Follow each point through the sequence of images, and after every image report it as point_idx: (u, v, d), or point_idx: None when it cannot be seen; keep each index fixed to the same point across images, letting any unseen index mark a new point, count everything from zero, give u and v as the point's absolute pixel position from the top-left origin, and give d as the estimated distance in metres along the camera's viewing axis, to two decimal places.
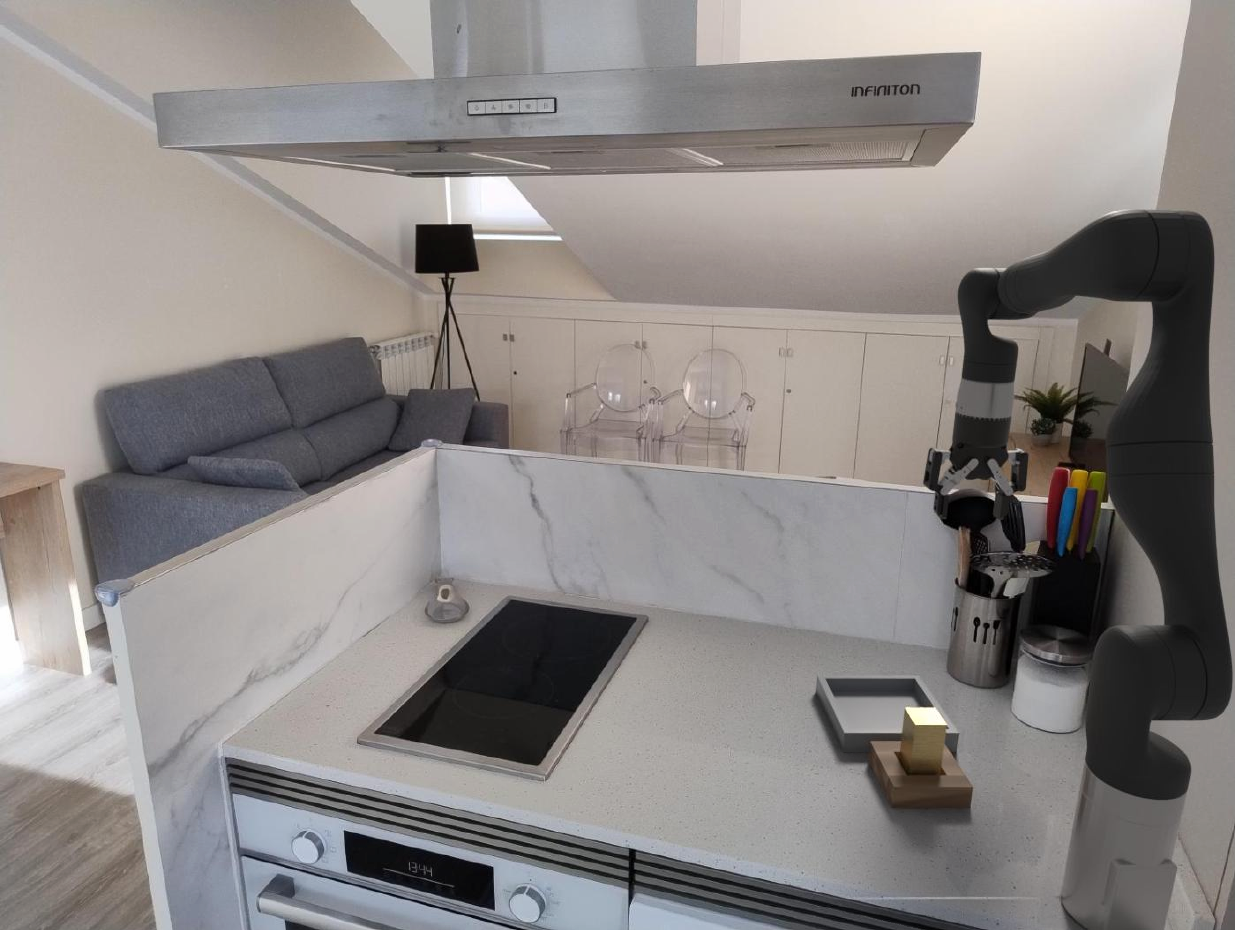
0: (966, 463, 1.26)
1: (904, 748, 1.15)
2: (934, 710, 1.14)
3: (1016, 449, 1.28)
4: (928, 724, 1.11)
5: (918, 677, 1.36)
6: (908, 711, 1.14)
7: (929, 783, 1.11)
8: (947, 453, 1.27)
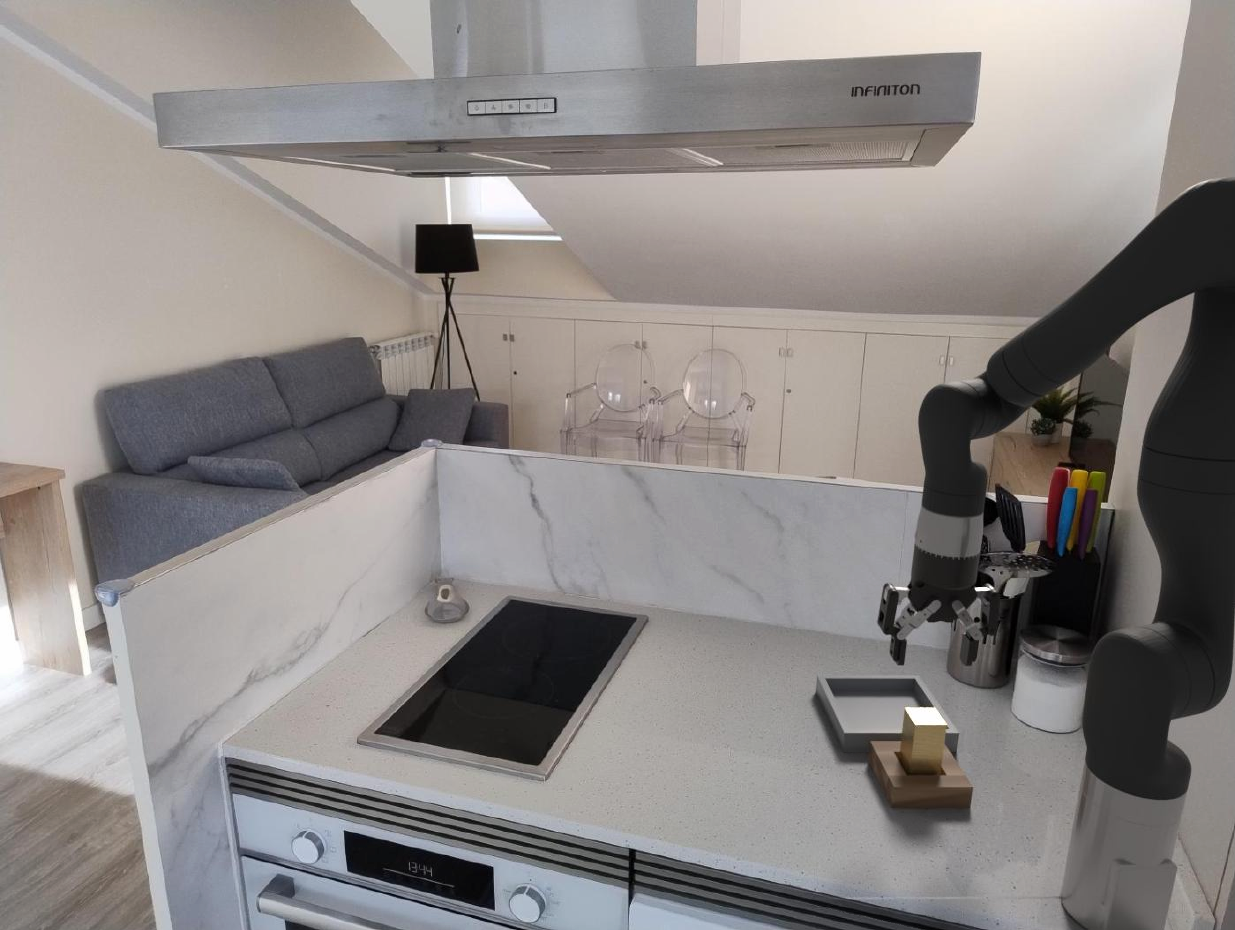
0: (927, 604, 1.07)
1: (904, 748, 1.15)
2: (934, 710, 1.14)
3: (986, 586, 1.09)
4: (928, 724, 1.11)
5: (918, 677, 1.36)
6: (908, 711, 1.14)
7: (929, 783, 1.11)
8: (904, 592, 1.07)
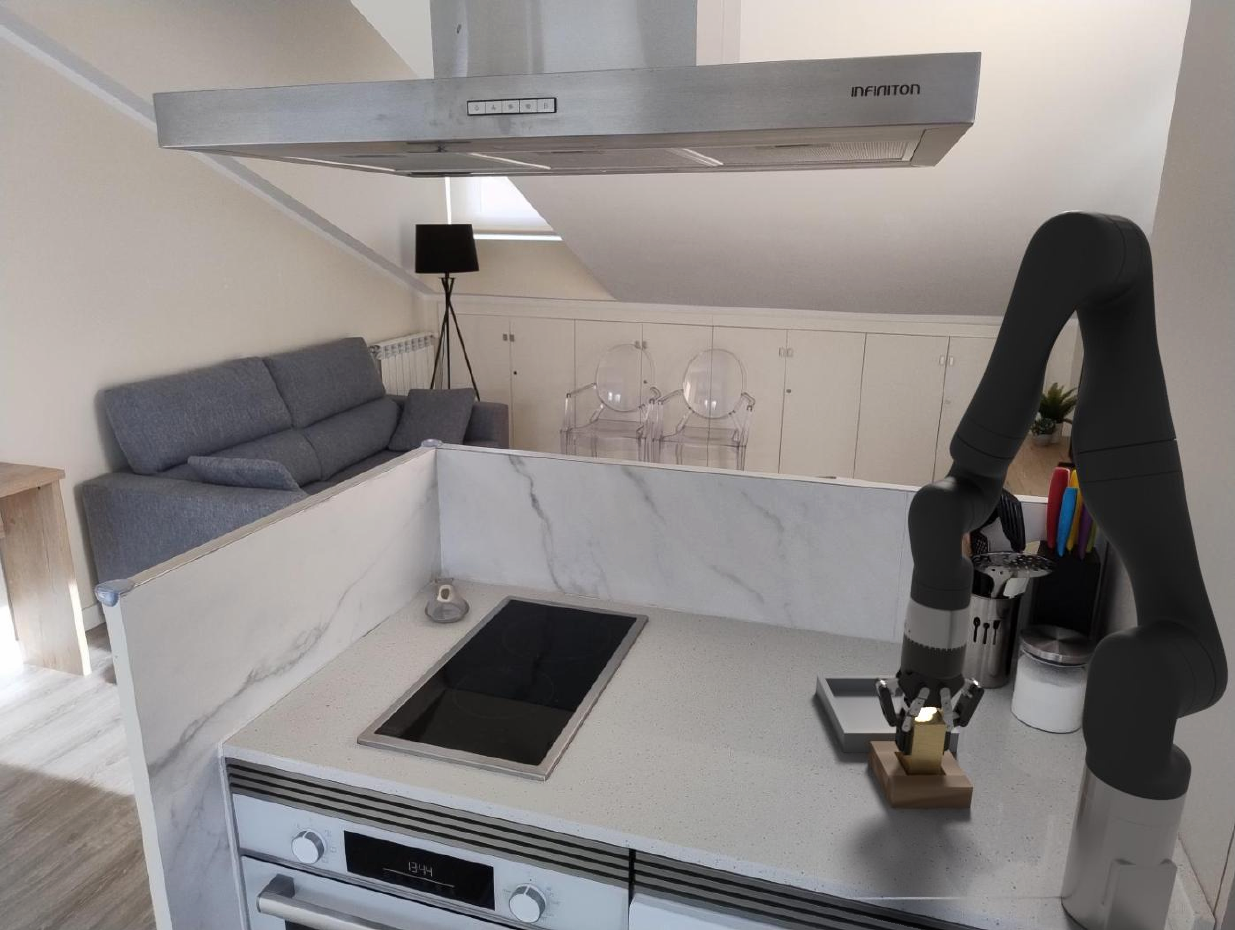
0: (917, 694, 1.10)
1: None
2: (933, 709, 1.14)
3: (973, 679, 1.12)
4: (928, 724, 1.11)
5: None
6: None
7: (929, 783, 1.11)
8: (893, 683, 1.11)
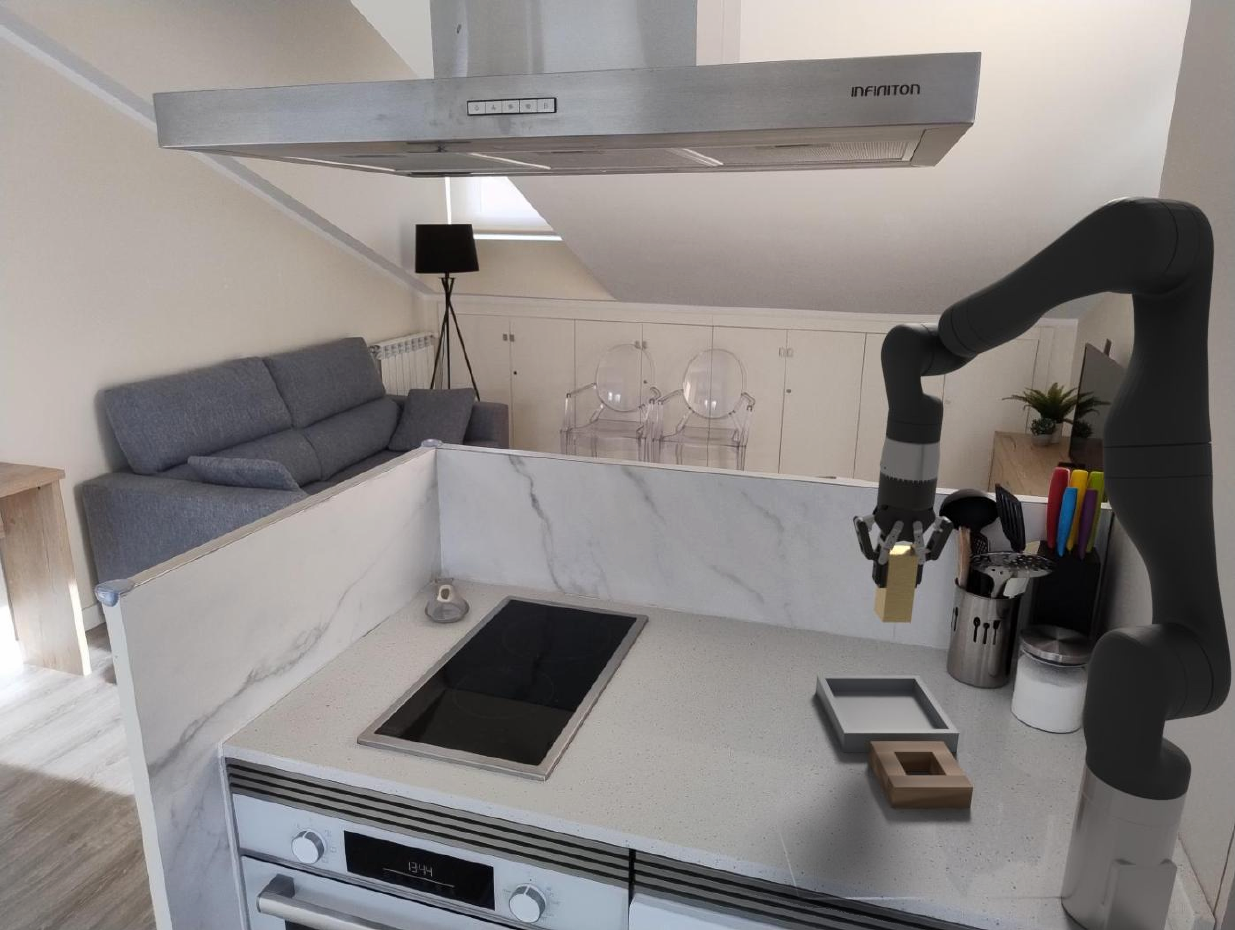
0: (892, 527, 1.20)
1: None
2: (908, 547, 1.24)
3: (944, 517, 1.22)
4: (902, 556, 1.21)
5: (918, 677, 1.36)
6: None
7: (929, 783, 1.11)
8: (870, 519, 1.21)
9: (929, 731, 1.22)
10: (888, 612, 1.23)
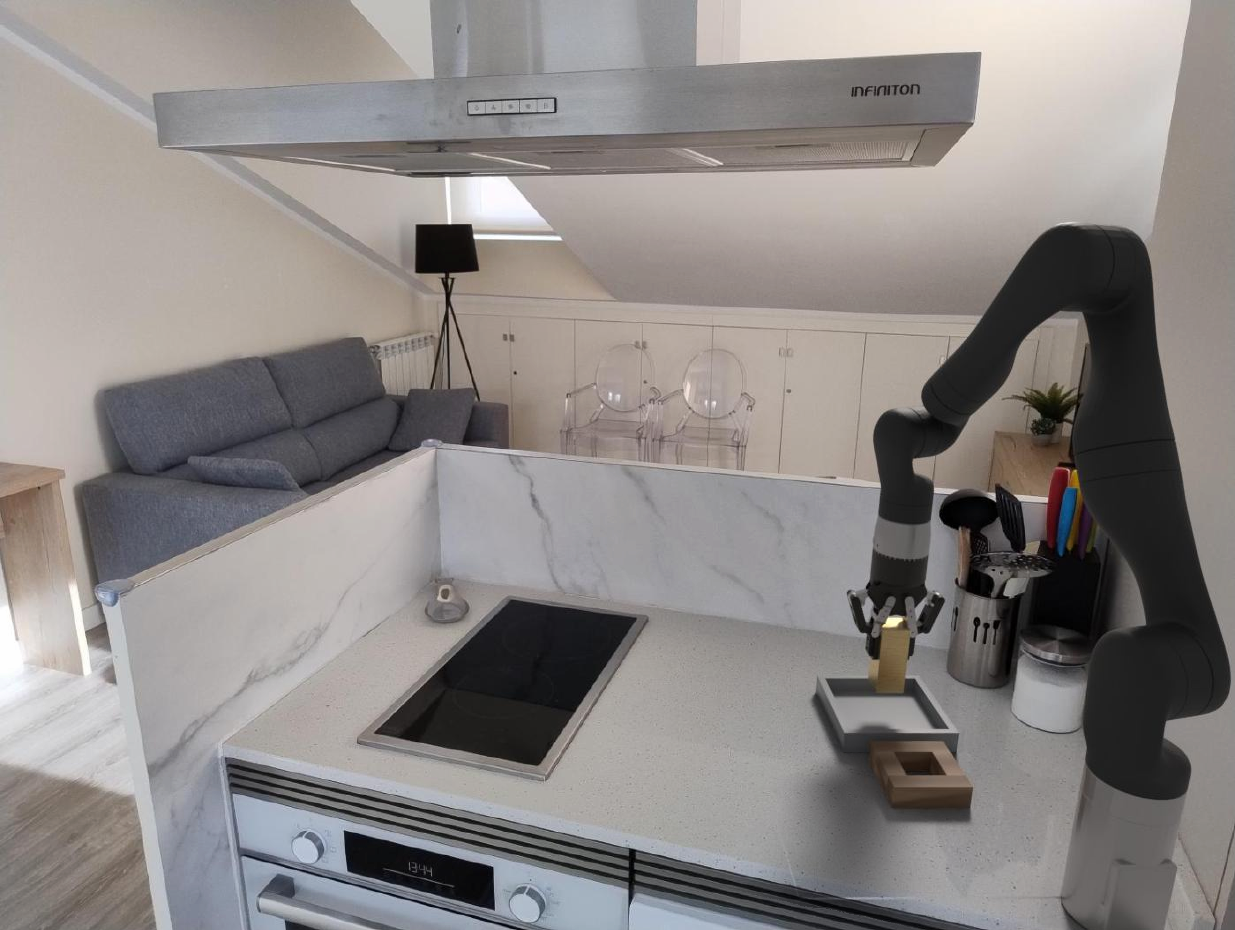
0: (884, 602, 1.23)
1: None
2: (900, 619, 1.27)
3: (935, 591, 1.25)
4: (894, 630, 1.24)
5: (918, 677, 1.36)
6: None
7: (929, 783, 1.11)
8: (863, 594, 1.24)
9: (929, 731, 1.22)
10: (881, 683, 1.26)
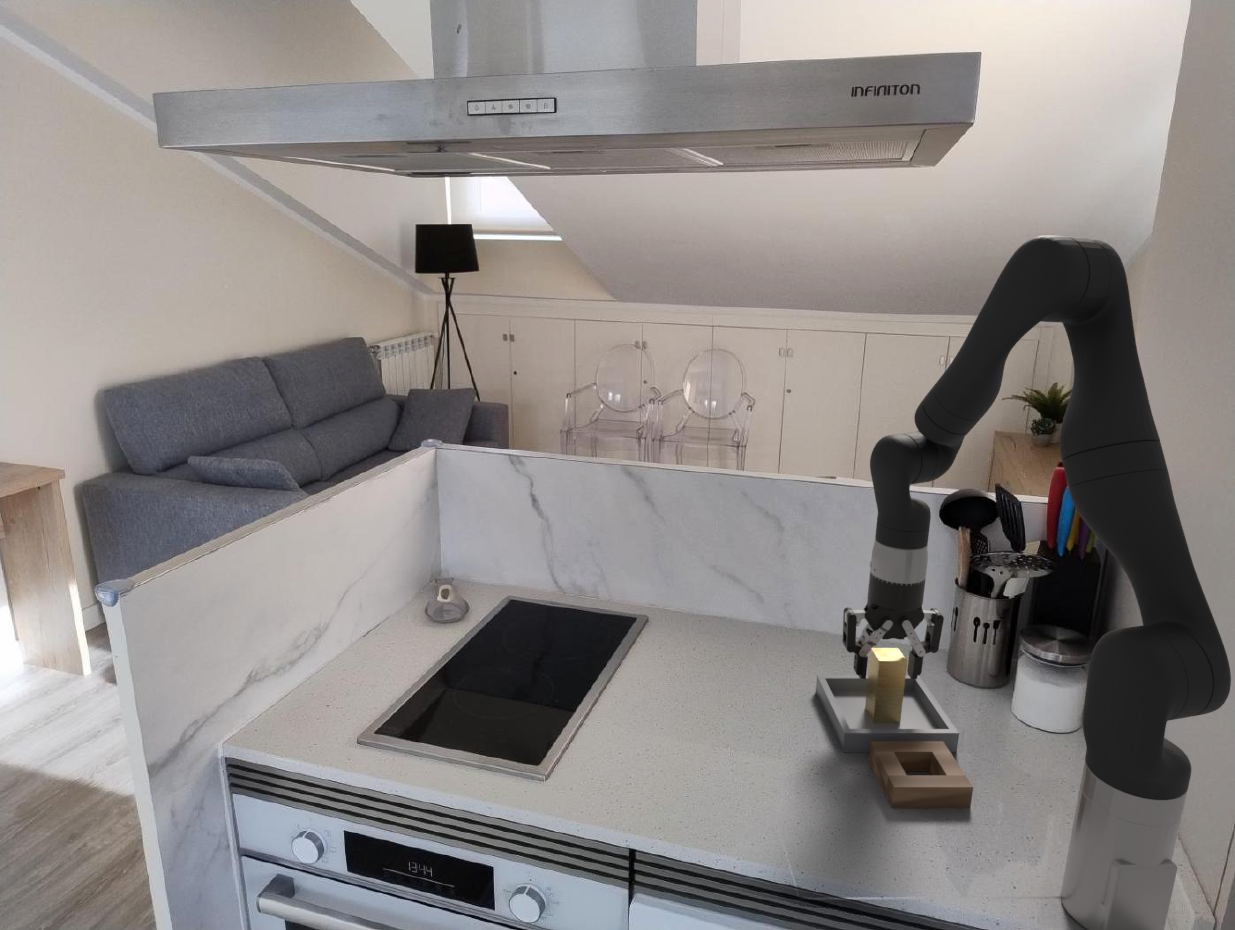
0: (881, 624, 1.24)
1: (870, 684, 1.29)
2: (897, 649, 1.28)
3: (933, 609, 1.26)
4: (891, 661, 1.25)
5: (918, 677, 1.36)
6: (874, 650, 1.28)
7: (929, 783, 1.11)
8: (861, 614, 1.25)
9: (929, 731, 1.22)
10: (878, 713, 1.27)
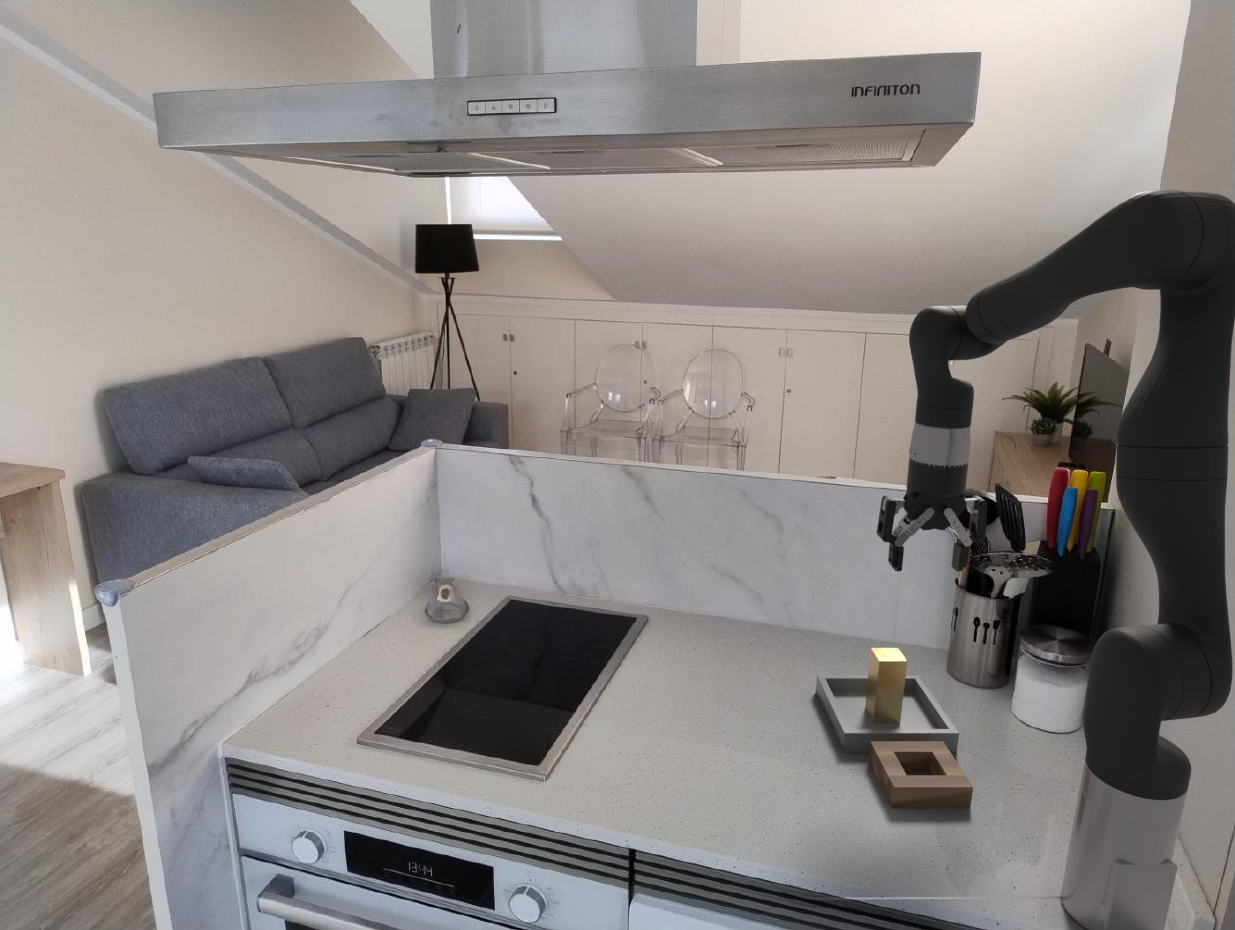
0: (922, 512, 1.18)
1: (870, 684, 1.29)
2: (897, 649, 1.28)
3: (974, 497, 1.20)
4: (891, 661, 1.25)
5: (918, 677, 1.36)
6: (874, 650, 1.28)
7: (929, 783, 1.11)
8: (901, 502, 1.19)
9: (929, 731, 1.22)
10: (878, 713, 1.27)
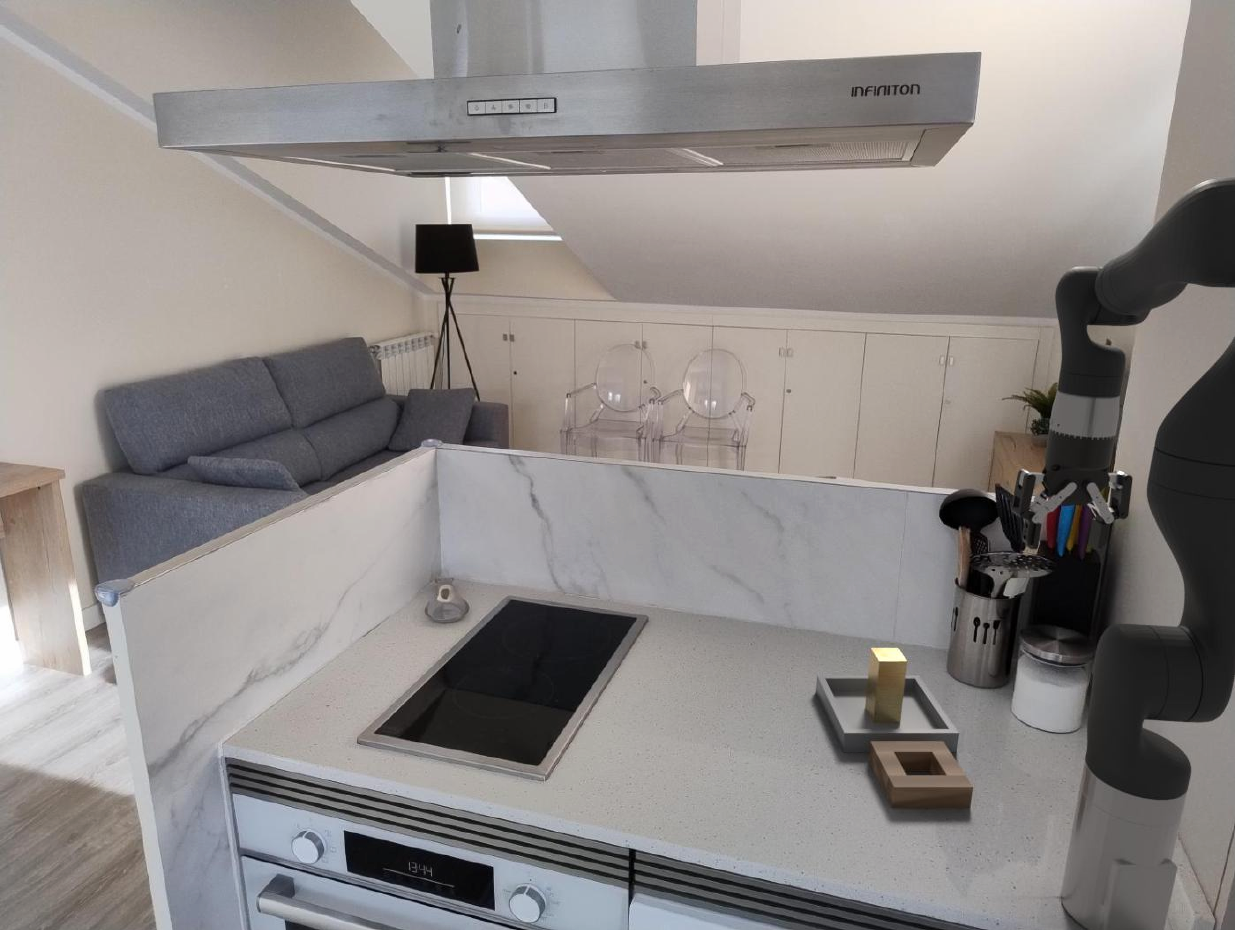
0: (1063, 487, 1.11)
1: (870, 684, 1.29)
2: (897, 649, 1.28)
3: (1117, 471, 1.13)
4: (891, 661, 1.25)
5: (918, 677, 1.36)
6: (874, 650, 1.28)
7: (929, 783, 1.11)
8: (1040, 476, 1.12)
9: (929, 731, 1.22)
10: (878, 713, 1.27)
